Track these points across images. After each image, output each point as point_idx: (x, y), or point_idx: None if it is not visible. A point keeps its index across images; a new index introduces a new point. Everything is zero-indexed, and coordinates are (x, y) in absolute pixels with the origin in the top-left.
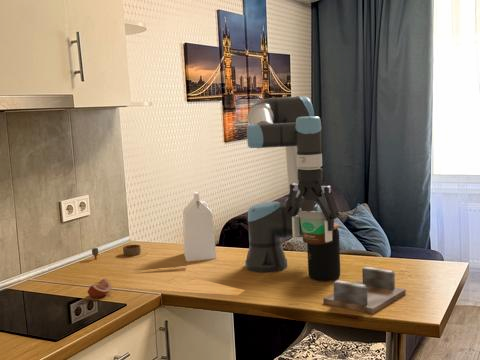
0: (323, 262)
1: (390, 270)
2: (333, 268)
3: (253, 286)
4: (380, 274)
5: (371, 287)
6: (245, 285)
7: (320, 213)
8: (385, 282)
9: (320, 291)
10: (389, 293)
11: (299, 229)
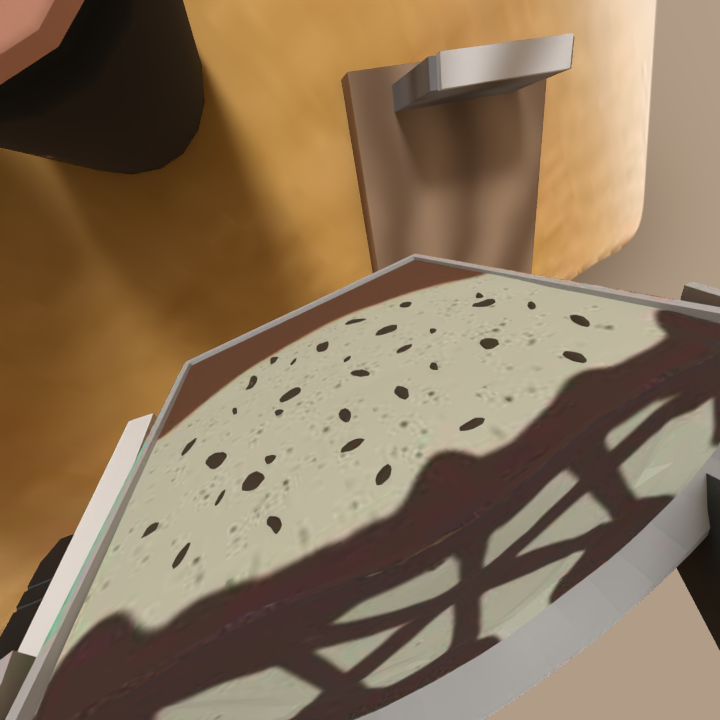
0: (170, 133)
1: (563, 35)
2: (198, 75)
3: (61, 424)
4: (510, 81)
5: (441, 123)
6: (25, 442)
7: (624, 574)
8: (507, 88)
9: (291, 267)
10: (520, 143)
11: (136, 453)
